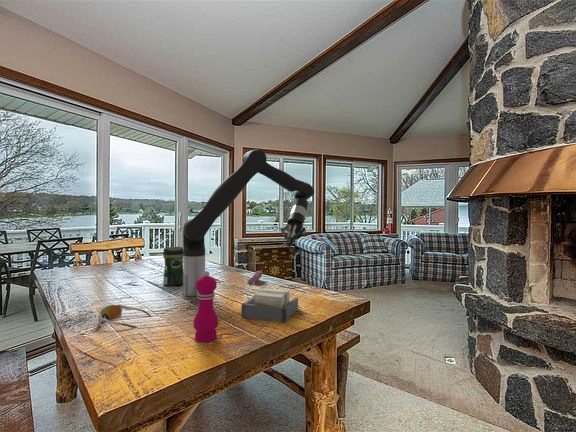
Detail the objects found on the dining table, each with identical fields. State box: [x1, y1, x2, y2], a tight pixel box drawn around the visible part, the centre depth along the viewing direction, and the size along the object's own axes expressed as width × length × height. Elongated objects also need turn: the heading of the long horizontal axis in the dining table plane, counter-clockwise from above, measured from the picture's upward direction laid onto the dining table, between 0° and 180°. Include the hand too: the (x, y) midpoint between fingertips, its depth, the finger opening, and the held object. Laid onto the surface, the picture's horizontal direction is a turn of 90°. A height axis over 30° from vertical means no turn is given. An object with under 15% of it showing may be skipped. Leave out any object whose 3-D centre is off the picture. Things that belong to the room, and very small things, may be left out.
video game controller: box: [247, 270, 263, 285], centre depth 167 cm, size 10×5×7 cm, turn 170°
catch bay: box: [240, 296, 299, 323], centre depth 119 cm, size 15×16×4 cm
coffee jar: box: [162, 246, 184, 287], centre depth 160 cm, size 10×8×19 cm
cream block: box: [253, 287, 290, 308], centre depth 118 cm, size 10×10×8 cm
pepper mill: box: [193, 270, 219, 343], centre depth 96 cm, size 7×7×20 cm
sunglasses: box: [97, 303, 153, 329], centre depth 109 cm, size 14×15×5 cm
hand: (288, 245), depth 145 cm, fingers closed
